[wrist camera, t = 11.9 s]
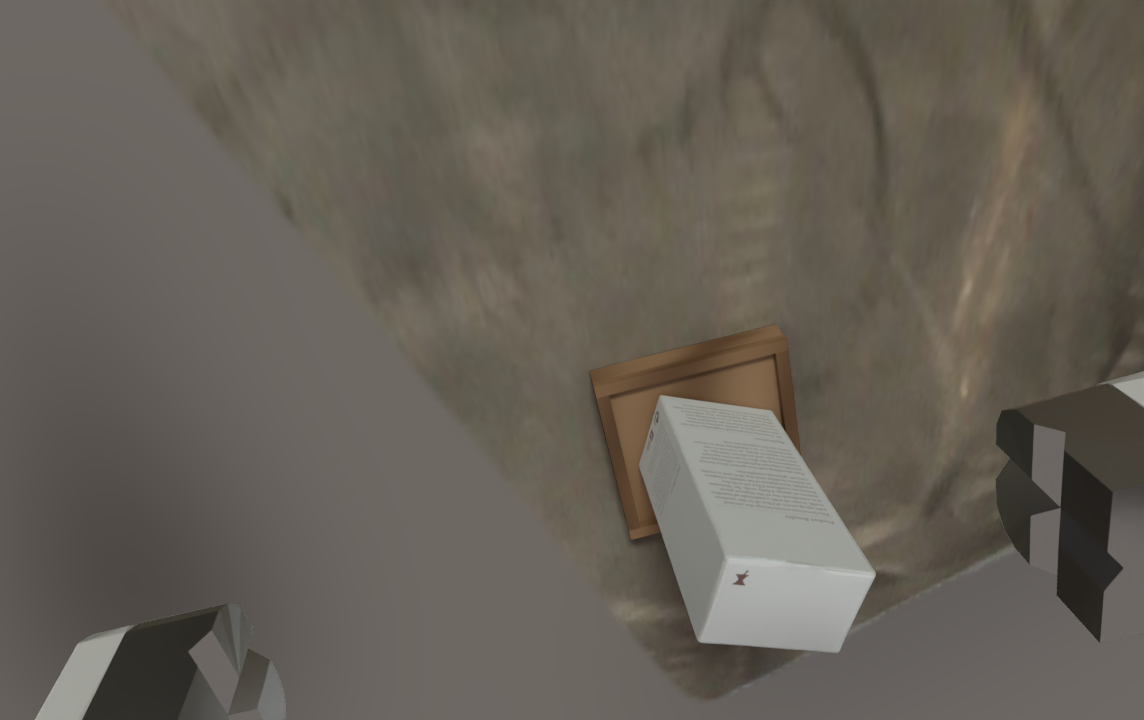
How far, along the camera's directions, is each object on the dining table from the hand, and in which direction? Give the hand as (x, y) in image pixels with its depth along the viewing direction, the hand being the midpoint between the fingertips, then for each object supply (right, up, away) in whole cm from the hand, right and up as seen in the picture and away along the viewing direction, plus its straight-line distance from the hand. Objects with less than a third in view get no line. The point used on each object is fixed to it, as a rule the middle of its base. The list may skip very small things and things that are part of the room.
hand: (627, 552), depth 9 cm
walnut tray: (+6, -1, +34) cm, 35 cm away
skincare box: (+6, -2, +33) cm, 34 cm away
